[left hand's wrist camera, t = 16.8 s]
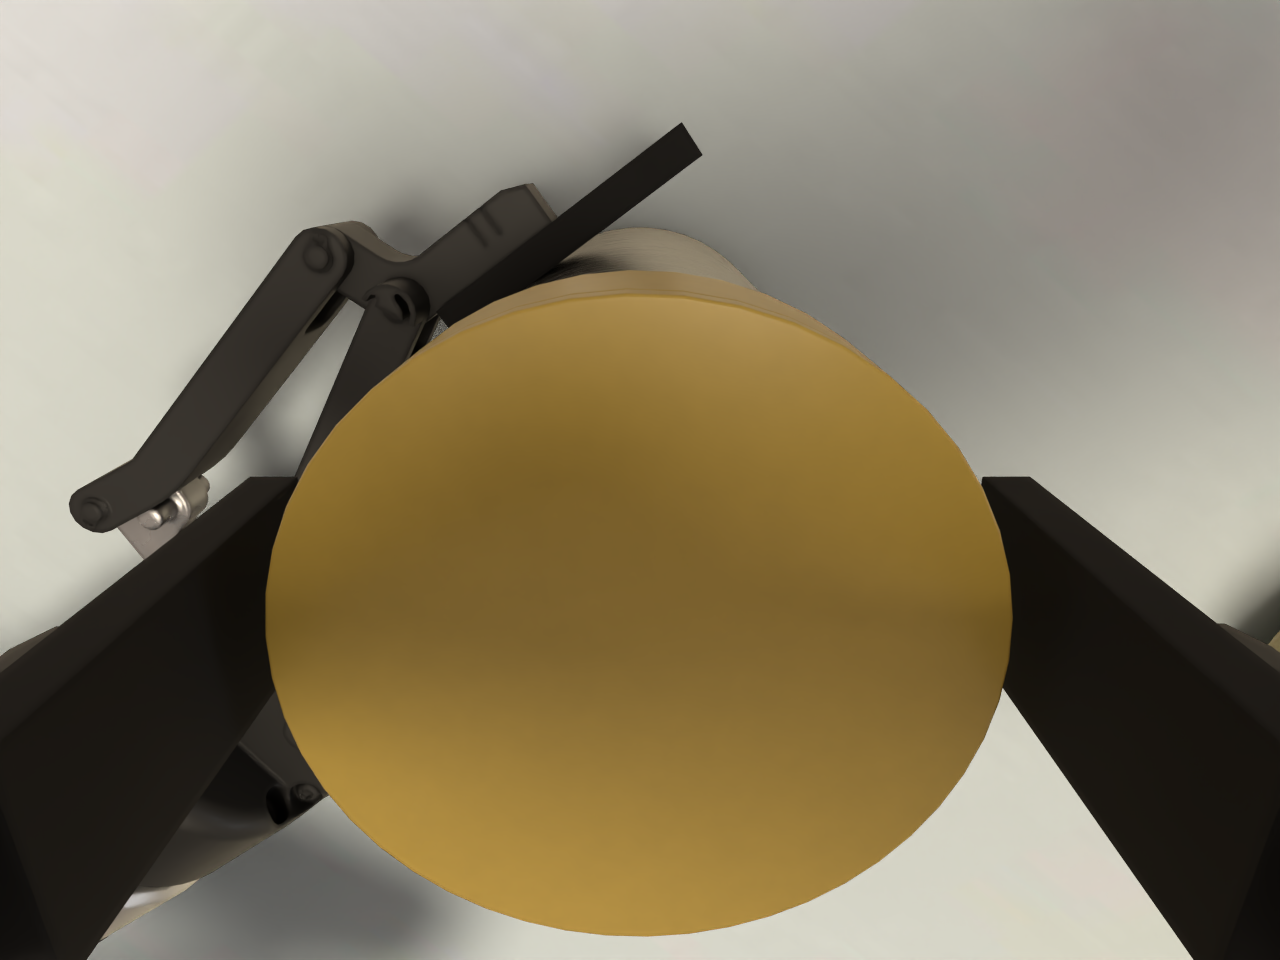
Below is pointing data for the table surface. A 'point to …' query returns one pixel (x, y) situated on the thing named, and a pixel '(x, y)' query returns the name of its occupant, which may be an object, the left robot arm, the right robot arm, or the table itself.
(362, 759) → the lid
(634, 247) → the jar
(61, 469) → the table surface
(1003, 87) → the table surface
